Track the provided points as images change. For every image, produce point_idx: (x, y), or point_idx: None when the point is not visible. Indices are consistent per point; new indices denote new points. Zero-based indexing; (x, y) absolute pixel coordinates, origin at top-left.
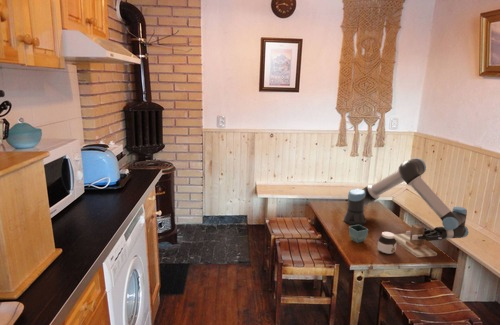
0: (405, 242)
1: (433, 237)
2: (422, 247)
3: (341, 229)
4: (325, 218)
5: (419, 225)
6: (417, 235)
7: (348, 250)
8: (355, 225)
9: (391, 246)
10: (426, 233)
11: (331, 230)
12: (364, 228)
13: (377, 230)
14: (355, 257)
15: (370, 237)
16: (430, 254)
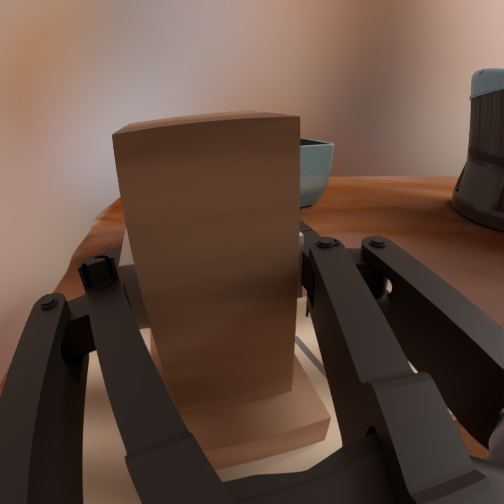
0: (306, 332)
1: (11, 404)
2: None
3: (384, 188)
4: (447, 179)
5: (232, 116)
6: (126, 229)
7: None
8: (317, 141)
9: None
10: (348, 430)
11: (358, 178)
12: (301, 150)
13: (467, 255)
14: None
15: (351, 229)
16: None
